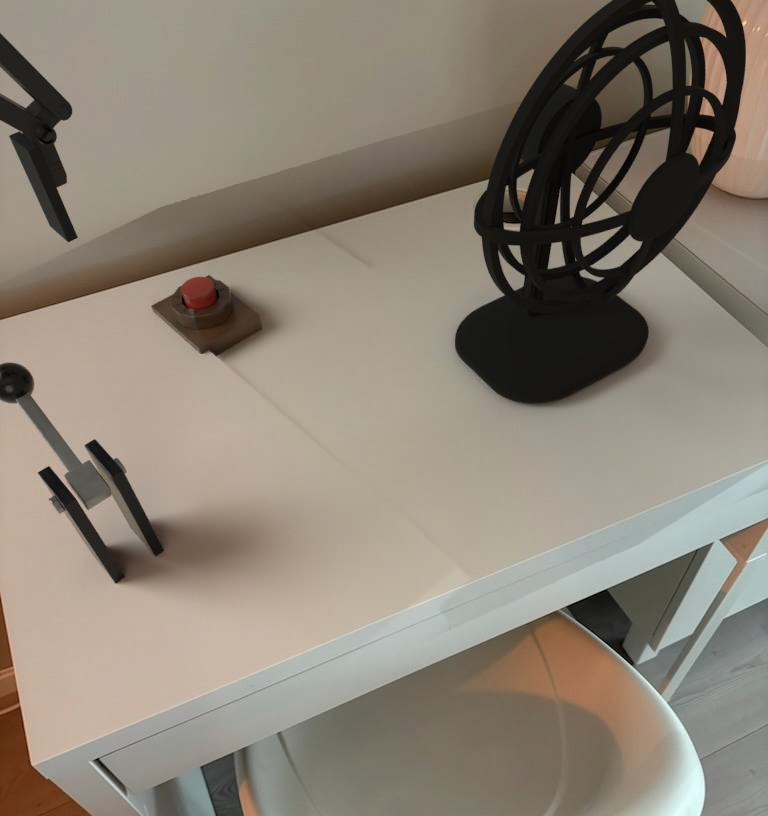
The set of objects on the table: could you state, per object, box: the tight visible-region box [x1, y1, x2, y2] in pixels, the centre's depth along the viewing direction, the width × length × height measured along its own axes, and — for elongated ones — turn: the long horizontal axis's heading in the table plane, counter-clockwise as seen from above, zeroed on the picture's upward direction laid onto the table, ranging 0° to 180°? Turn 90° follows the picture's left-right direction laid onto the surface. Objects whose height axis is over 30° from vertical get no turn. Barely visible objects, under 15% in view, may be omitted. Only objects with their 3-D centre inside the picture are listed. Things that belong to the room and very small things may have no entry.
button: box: [181, 276, 217, 310], centre depth 83 cm, size 4×4×2 cm
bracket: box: [37, 439, 165, 584], centre depth 63 cm, size 12×9×13 cm
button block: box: [150, 274, 263, 357], centre depth 85 cm, size 10×8×4 cm
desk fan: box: [454, 0, 747, 404], centre depth 67 cm, size 27×18×35 cm, turn 122°
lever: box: [0, 361, 112, 511], centre depth 59 cm, size 13×3×3 cm, turn 42°
